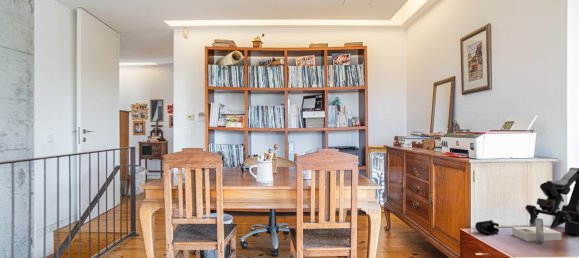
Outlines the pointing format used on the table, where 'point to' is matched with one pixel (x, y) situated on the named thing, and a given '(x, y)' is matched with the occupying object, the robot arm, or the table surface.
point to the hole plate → (530, 233)
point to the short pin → (533, 224)
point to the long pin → (539, 231)
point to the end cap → (487, 227)
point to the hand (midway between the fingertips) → (540, 226)
